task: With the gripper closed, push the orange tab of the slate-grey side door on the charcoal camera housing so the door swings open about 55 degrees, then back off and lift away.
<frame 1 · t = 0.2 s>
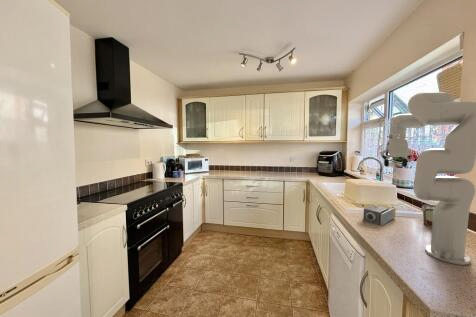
hand: (395, 166, 123), 30 cm above the countertop, tool pointing down, fingers open, 9 cm apart
side door: (388, 215, 116), point 4 cm above the countertop, hinge at 0.0°
camera housing: (375, 220, 119), on the countertop
food container: (430, 224, 113), on the countertop
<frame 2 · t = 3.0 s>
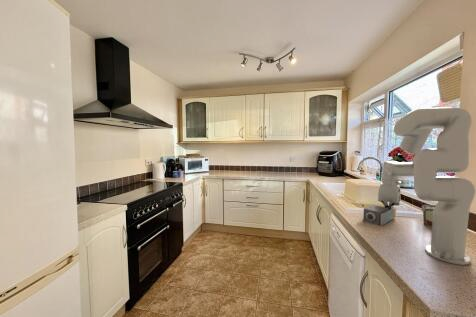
hand: (387, 212, 123), 3 cm above the countertop, tool pointing down, fingers closed
side door: (388, 215, 116), point 3 cm above the countertop, hinge at 0.4°, touching gripper
everything else where it was.
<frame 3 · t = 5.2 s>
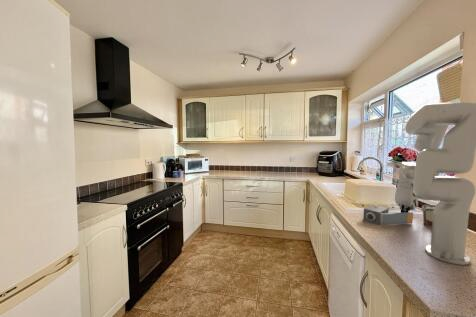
hand: (404, 217, 116), 3 cm above the countertop, tool pointing down, fingers closed
side door: (396, 218, 112), point 4 cm above the countertop, hinge at 28.9°, touching gripper
everything else where it was.
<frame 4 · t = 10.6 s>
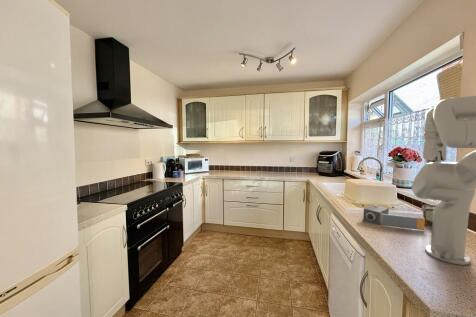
hand: (431, 174, 99), 29 cm above the countertop, tool pointing down, fingers closed
side door: (401, 221, 108), point 3 cm above the countertop, hinge at 57.1°
everything else where it was.
at the end: side door at +57° (first picture: +0°); food container moved 0.2 cm from its start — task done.
